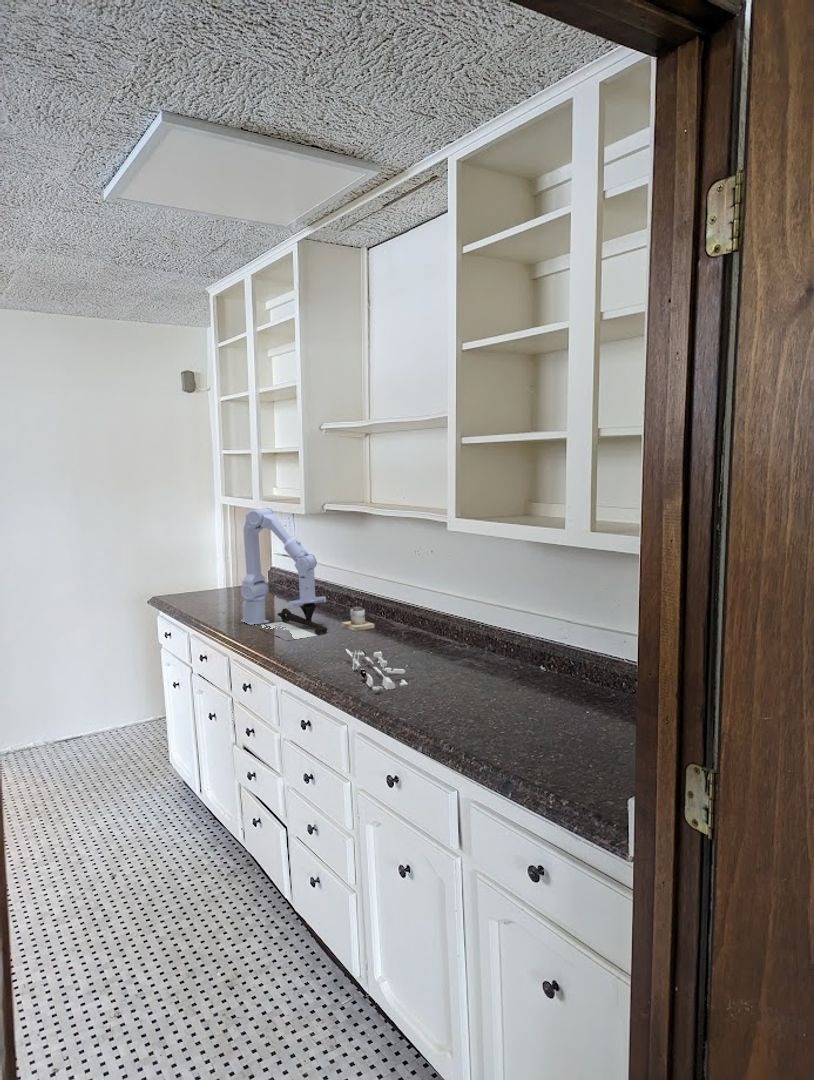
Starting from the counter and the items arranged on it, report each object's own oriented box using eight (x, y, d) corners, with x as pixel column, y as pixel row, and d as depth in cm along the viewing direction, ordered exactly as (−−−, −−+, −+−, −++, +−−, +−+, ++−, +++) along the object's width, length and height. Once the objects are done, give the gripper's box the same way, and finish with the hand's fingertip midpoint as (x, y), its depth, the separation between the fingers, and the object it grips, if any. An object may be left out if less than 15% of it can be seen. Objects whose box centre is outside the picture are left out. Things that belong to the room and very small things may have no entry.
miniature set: (340, 658, 217) (377, 660, 221) (371, 700, 184) (415, 701, 189) (343, 638, 216) (380, 640, 220) (375, 677, 184) (419, 678, 188)
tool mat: (252, 626, 264) (252, 626, 264) (281, 622, 271) (281, 621, 271) (287, 641, 242) (287, 640, 241) (317, 635, 249) (317, 635, 249)
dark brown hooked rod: (316, 640, 249) (271, 621, 271) (328, 637, 253) (282, 619, 274) (316, 625, 248) (270, 608, 270) (328, 623, 252) (282, 606, 274)
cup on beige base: (341, 626, 262) (341, 607, 262) (359, 623, 267) (359, 604, 266) (356, 631, 254) (355, 611, 254) (374, 628, 259) (374, 608, 258)
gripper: (294, 591, 253) (296, 628, 254) (329, 586, 262) (331, 622, 263) (285, 589, 259) (287, 625, 260) (320, 584, 267) (321, 619, 269)
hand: (308, 623), depth 262 cm, fingers closed, pressing on dark brown hooked rod
